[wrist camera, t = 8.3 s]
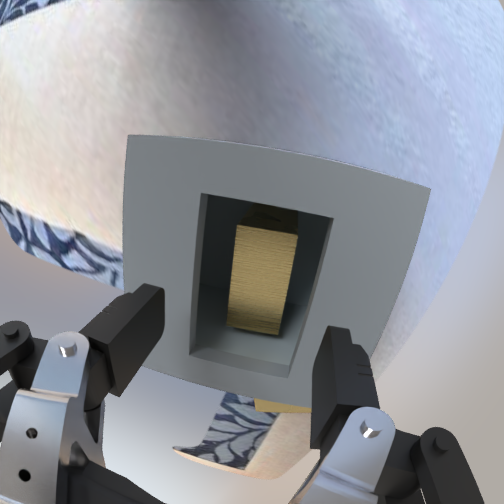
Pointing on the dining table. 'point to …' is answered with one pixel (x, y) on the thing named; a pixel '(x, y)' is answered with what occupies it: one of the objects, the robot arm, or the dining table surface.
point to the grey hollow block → (222, 251)
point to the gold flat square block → (262, 267)
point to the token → (278, 407)
